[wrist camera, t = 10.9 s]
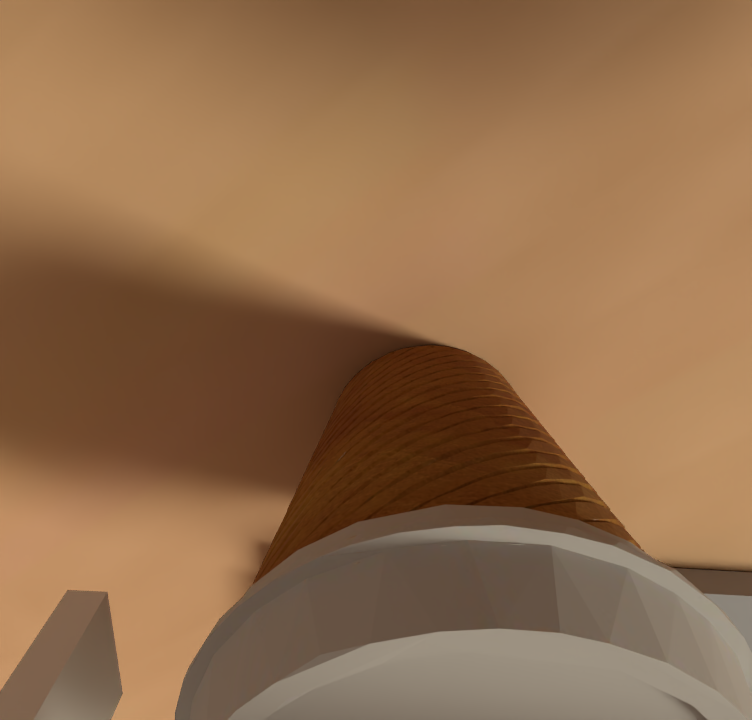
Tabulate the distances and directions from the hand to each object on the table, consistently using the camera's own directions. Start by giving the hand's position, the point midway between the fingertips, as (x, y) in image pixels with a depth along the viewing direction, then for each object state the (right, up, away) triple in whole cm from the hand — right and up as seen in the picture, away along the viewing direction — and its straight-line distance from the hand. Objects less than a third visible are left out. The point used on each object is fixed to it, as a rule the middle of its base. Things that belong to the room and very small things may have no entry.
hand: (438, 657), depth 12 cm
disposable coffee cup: (0, +4, +8) cm, 9 cm away
